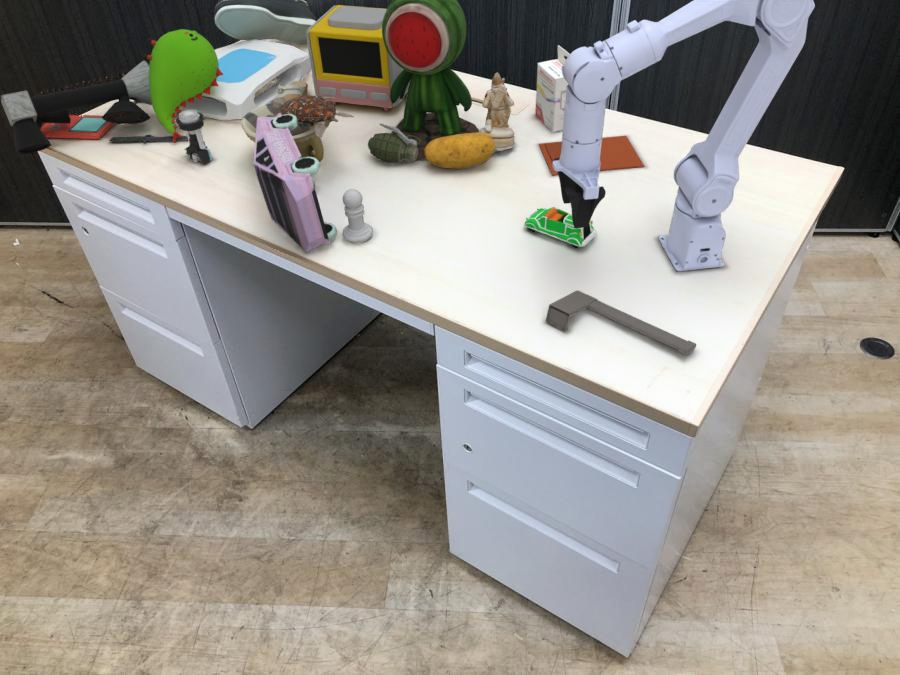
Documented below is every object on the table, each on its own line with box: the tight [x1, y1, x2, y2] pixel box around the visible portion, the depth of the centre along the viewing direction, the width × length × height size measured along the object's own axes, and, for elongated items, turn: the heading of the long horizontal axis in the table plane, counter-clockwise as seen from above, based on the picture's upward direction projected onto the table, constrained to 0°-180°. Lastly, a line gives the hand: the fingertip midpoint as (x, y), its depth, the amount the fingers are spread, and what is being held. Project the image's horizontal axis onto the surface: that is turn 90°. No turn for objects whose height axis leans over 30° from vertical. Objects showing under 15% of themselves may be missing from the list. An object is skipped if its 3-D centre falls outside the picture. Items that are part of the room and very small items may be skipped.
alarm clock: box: [306, 4, 410, 112], centre depth 167 cm, size 20×16×18 cm
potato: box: [424, 131, 495, 170], centre depth 148 cm, size 8×14×7 cm, turn 88°
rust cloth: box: [538, 135, 645, 177], centre depth 151 cm, size 12×18×1 cm, turn 97°
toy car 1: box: [253, 113, 338, 253], centre depth 133 cm, size 15×25×10 cm
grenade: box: [367, 122, 421, 164], centre depth 150 cm, size 6×7×10 cm
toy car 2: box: [523, 206, 597, 249], centre depth 131 cm, size 12×5×4 cm, turn 54°
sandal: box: [276, 80, 309, 101], centre depth 170 cm, size 7×16×5 cm, turn 167°
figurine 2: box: [479, 72, 515, 153], centre depth 151 cm, size 7×7×15 cm
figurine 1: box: [382, 0, 480, 161], centre depth 148 cm, size 17×20×30 cm
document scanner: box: [179, 39, 312, 121], centre depth 175 cm, size 21×28×6 cm
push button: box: [175, 109, 213, 166], centre depth 152 cm, size 7×5×10 cm
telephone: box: [0, 60, 153, 155], centre depth 161 cm, size 15×13×30 cm
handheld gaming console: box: [40, 114, 116, 140], centre depth 166 cm, size 9×1×15 cm
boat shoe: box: [213, 0, 318, 44], centre depth 187 cm, size 11×30×9 cm
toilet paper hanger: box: [545, 290, 697, 356], centre depth 112 cm, size 20×8×3 cm, turn 49°
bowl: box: [240, 100, 331, 163], centre depth 150 cm, size 18×18×10 cm
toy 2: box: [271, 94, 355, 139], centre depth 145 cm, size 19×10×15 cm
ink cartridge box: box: [534, 44, 571, 133], centre depth 157 cm, size 9×5×15 cm, turn 22°
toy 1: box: [142, 28, 223, 144], centre depth 159 cm, size 13×23×15 cm
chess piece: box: [341, 188, 374, 243], centre depth 131 cm, size 5×5×9 cm
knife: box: [108, 134, 188, 144], centre depth 161 cm, size 18×1×3 cm
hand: (575, 214), depth 120 cm, fingers open, 6 cm apart
